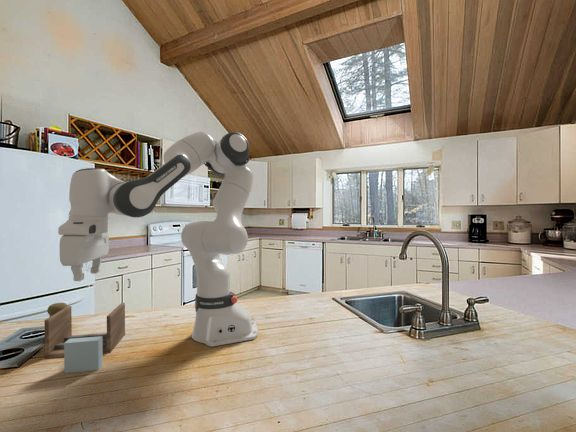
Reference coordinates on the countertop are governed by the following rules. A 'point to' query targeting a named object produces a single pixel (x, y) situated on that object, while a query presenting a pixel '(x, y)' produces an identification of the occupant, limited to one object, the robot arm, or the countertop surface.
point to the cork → (56, 308)
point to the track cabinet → (61, 331)
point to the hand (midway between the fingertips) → (87, 276)
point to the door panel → (83, 354)
